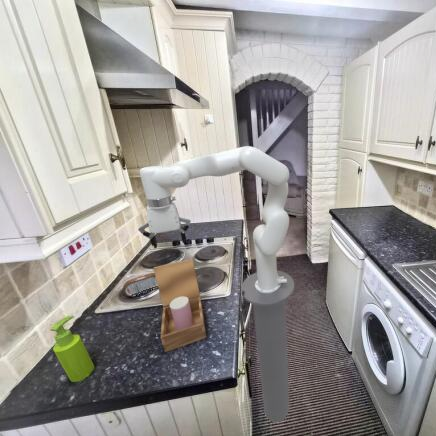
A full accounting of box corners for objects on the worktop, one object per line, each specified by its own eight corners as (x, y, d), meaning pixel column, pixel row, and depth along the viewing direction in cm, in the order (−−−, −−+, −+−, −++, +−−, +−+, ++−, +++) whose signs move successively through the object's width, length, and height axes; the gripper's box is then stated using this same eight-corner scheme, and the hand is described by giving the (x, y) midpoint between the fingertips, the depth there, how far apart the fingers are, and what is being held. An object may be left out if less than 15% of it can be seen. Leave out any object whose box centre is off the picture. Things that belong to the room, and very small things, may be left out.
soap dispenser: (101, 360, 76) (79, 314, 69) (83, 382, 70) (57, 333, 62) (84, 360, 76) (61, 314, 69) (64, 381, 70) (36, 333, 62)
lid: (192, 259, 90) (192, 254, 95) (153, 267, 85) (155, 262, 90) (200, 296, 94) (199, 289, 99) (162, 306, 89) (164, 299, 94)
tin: (162, 284, 113) (158, 269, 110) (163, 287, 111) (159, 272, 108) (126, 296, 105) (120, 281, 102) (126, 300, 103) (120, 285, 100)
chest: (206, 337, 84) (203, 323, 81) (164, 352, 78) (160, 337, 76) (202, 309, 97) (200, 296, 94) (167, 320, 92) (163, 307, 89)
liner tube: (196, 320, 91) (190, 295, 86) (191, 333, 85) (185, 307, 80) (180, 321, 90) (173, 296, 86) (173, 334, 84) (166, 309, 80)
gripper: (185, 196, 88) (193, 235, 94) (133, 202, 82) (145, 244, 88) (186, 201, 82) (194, 243, 88) (129, 208, 75) (142, 253, 82)
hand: (170, 244), depth 88 cm, fingers open, 9 cm apart
